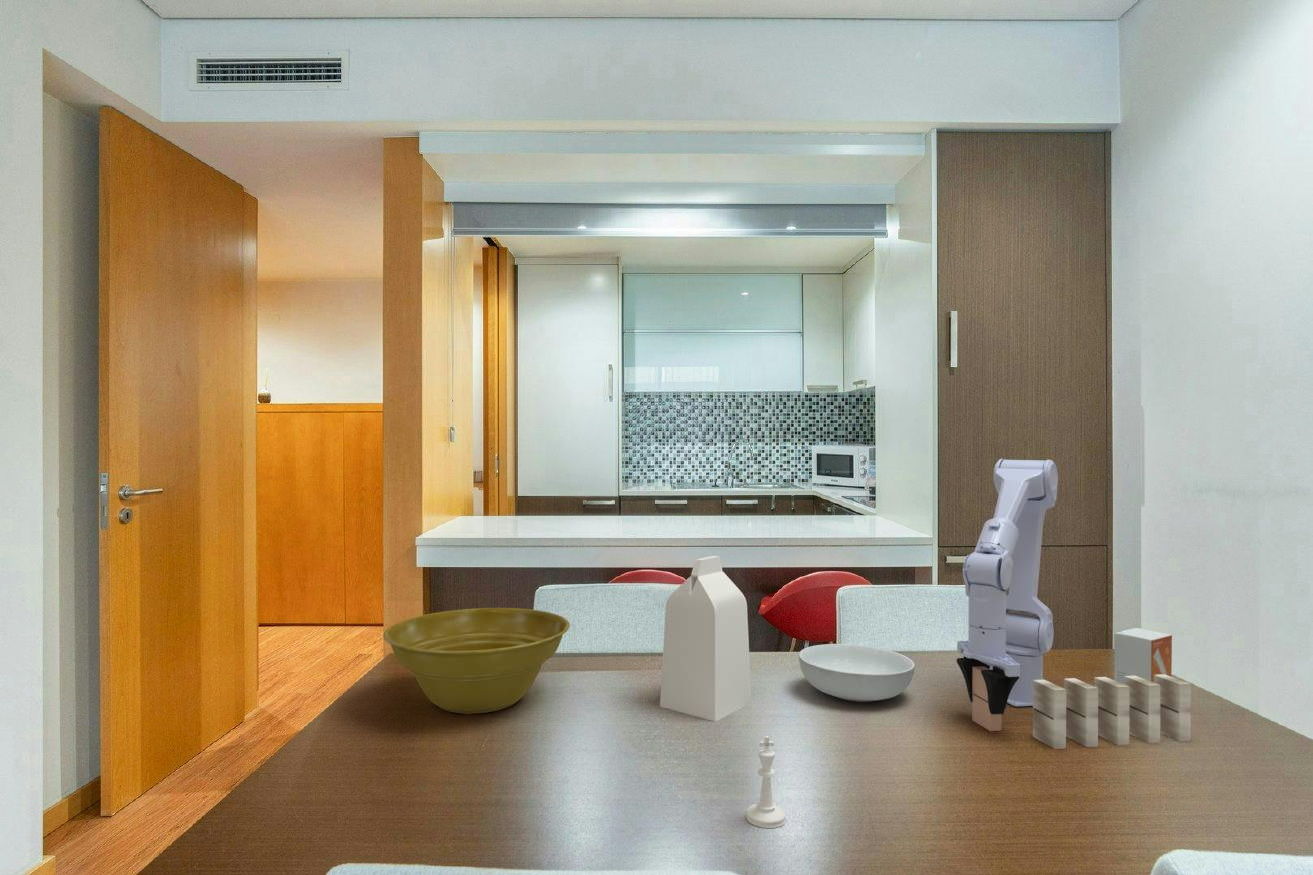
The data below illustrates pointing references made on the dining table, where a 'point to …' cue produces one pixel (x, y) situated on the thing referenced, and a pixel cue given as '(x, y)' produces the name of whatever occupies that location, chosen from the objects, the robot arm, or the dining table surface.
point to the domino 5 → (1174, 707)
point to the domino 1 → (1049, 714)
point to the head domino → (983, 703)
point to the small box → (1142, 654)
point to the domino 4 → (1144, 709)
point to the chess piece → (766, 794)
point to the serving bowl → (856, 671)
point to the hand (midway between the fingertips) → (986, 707)
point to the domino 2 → (1081, 712)
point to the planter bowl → (476, 654)
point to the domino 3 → (1113, 710)
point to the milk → (706, 645)
